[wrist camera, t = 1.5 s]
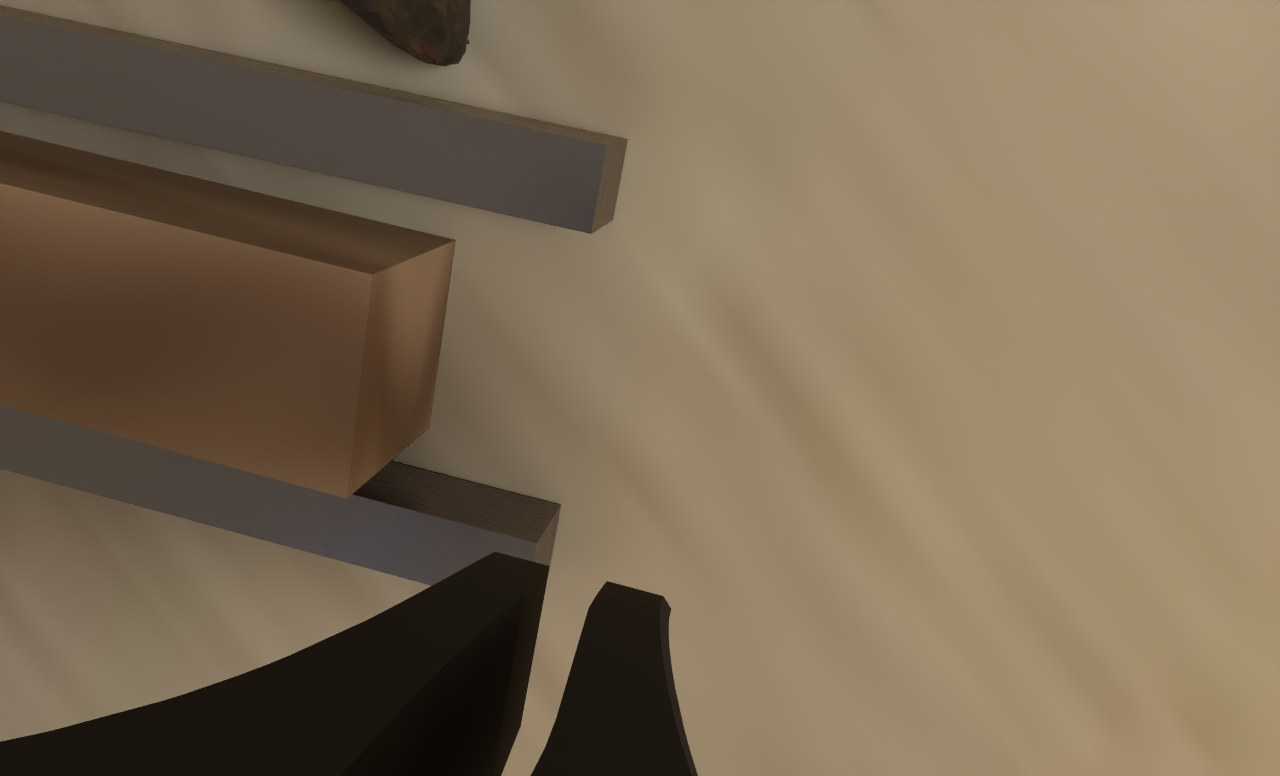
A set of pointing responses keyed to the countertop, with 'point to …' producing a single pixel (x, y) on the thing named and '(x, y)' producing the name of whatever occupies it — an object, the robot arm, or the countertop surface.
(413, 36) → the brown wooden log
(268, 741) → the robot arm
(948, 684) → the countertop surface
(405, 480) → the slot rails
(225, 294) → the long wooden beam
